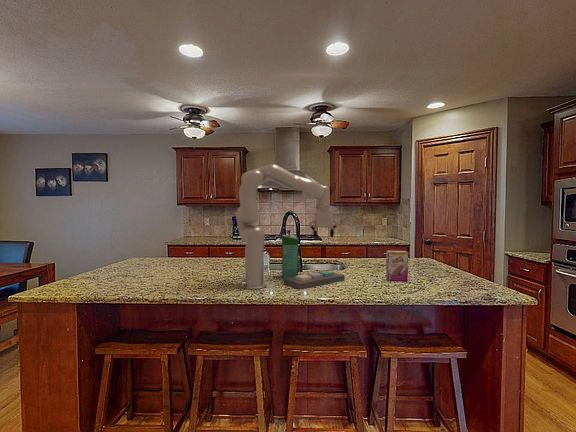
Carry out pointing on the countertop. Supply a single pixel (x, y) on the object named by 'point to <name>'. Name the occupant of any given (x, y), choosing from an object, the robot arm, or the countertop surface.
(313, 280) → the keypad
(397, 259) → the candy bar box
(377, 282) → the countertop surface
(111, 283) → the countertop surface
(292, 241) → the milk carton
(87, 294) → the countertop surface
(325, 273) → the teal key
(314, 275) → the slate key
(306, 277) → the cream key
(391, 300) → the countertop surface
